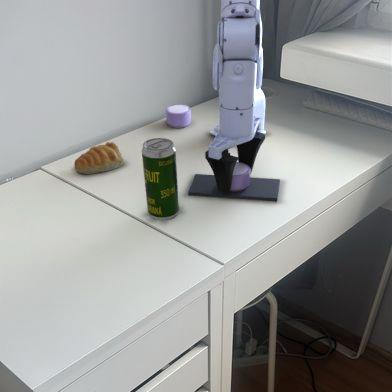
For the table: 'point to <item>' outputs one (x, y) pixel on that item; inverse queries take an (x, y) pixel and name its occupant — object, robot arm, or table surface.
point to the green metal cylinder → (160, 178)
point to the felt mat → (254, 191)
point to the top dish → (240, 177)
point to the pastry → (99, 159)
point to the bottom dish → (178, 116)
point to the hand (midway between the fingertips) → (234, 182)
